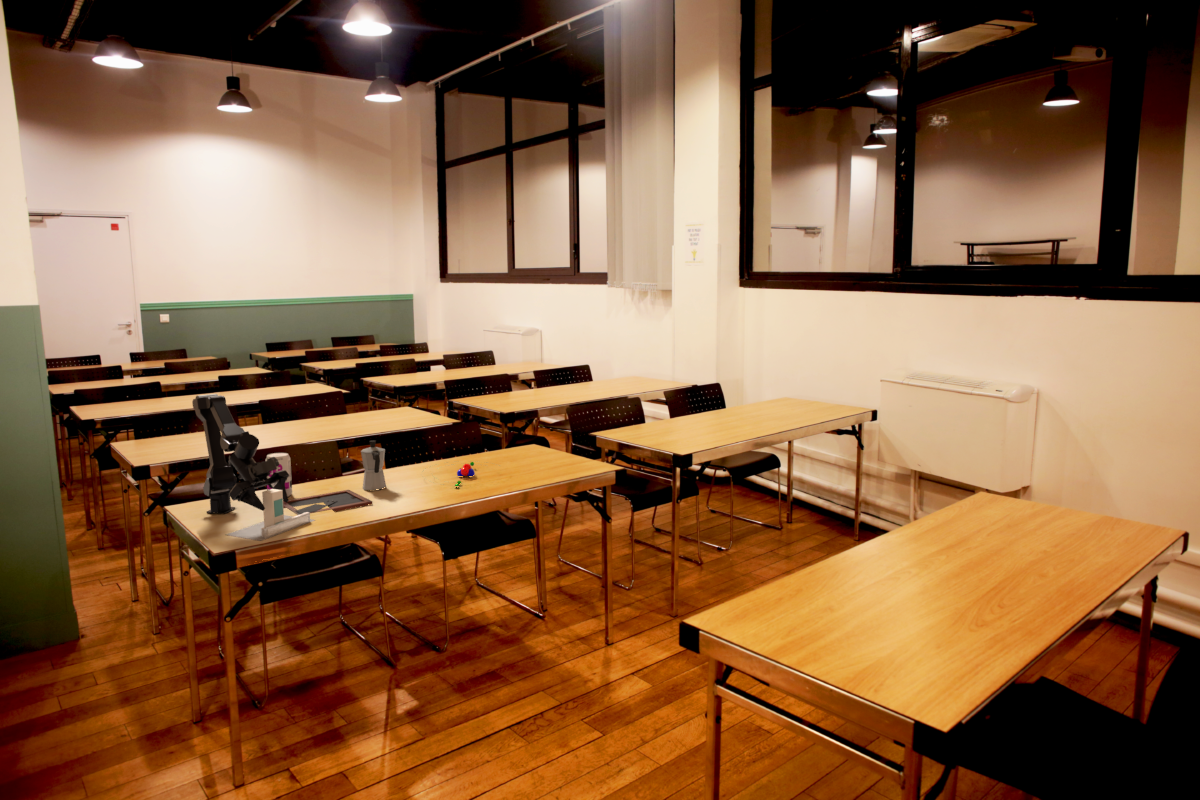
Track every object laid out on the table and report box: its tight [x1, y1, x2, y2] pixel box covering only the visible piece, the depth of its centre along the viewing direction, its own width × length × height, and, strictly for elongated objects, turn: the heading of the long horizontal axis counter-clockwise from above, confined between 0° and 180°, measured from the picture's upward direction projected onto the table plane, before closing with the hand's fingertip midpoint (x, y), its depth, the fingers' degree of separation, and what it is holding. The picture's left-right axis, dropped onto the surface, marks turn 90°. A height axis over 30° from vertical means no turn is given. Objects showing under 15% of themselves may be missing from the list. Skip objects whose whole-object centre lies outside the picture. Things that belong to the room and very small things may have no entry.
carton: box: [261, 489, 285, 527], centre depth 232 cm, size 4×4×12 cm
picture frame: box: [283, 489, 373, 516], centre depth 261 cm, size 20×2×25 cm
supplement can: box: [264, 452, 293, 498], centre depth 270 cm, size 8×8×15 cm
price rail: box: [261, 512, 311, 540], centre depth 230 cm, size 1×18×3 cm, turn 157°
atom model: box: [421, 460, 501, 487], centre depth 299 cm, size 35×34×6 cm
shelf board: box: [225, 514, 316, 542], centre depth 233 cm, size 14×22×1 cm, turn 157°
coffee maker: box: [360, 440, 387, 491], centre depth 281 cm, size 15×9×18 cm, turn 27°
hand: (275, 505), depth 231 cm, fingers open, 9 cm apart
